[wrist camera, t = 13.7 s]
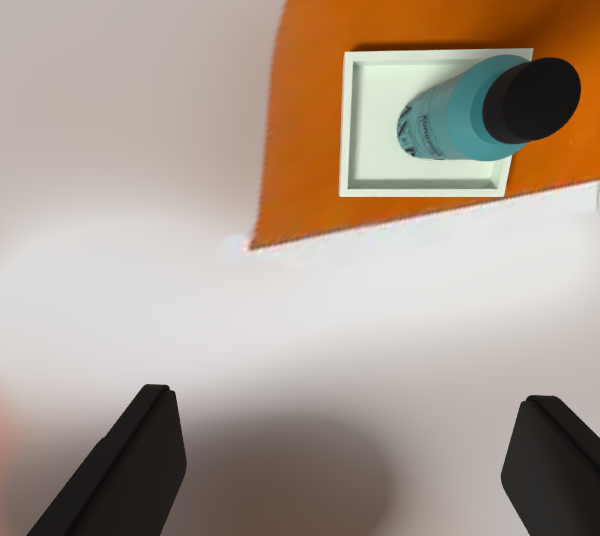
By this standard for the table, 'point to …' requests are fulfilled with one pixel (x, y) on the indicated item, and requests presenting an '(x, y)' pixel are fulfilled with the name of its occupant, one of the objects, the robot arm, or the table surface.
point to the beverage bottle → (490, 109)
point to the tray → (383, 123)
